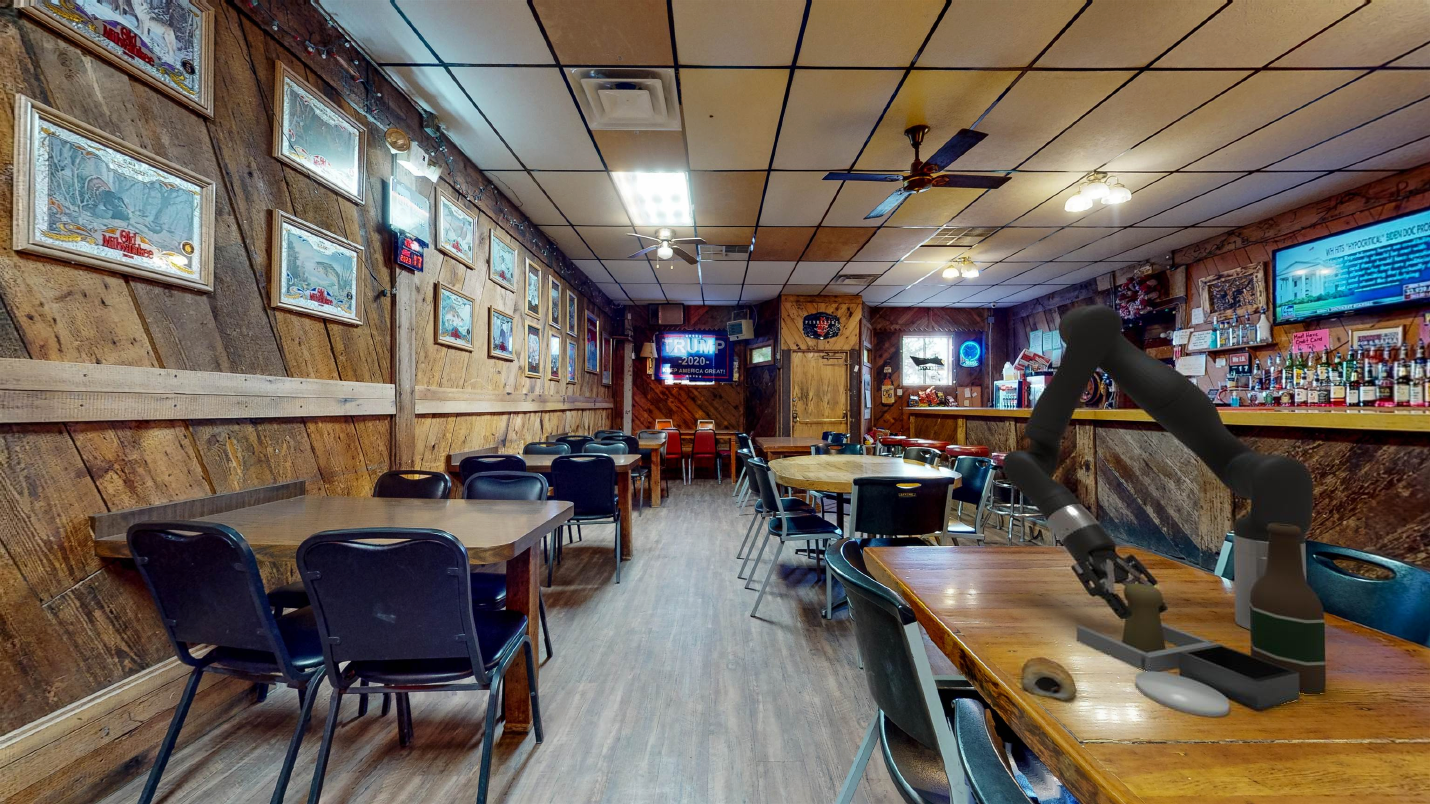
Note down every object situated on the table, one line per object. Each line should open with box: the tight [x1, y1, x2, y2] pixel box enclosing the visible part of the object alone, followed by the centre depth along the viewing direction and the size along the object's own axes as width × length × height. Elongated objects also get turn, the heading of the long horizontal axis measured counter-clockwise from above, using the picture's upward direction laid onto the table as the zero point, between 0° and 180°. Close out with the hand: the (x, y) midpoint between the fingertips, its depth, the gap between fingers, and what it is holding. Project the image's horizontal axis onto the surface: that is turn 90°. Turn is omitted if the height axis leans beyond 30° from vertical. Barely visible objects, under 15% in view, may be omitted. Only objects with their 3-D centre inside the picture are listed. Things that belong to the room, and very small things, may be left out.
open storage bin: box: [1178, 643, 1301, 712], centre depth 75 cm, size 9×9×4 cm
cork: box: [1121, 582, 1167, 653], centre depth 88 cm, size 6×6×11 cm
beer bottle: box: [1249, 523, 1327, 694], centre depth 77 cm, size 8×8×24 cm
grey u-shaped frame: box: [1076, 622, 1219, 672], centre depth 87 cm, size 16×12×2 cm
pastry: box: [1021, 656, 1078, 701], centre depth 76 cm, size 9×7×4 cm
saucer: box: [1135, 671, 1230, 718], centre depth 73 cm, size 10×10×1 cm
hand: (1145, 614), depth 87 cm, fingers open, 8 cm apart
